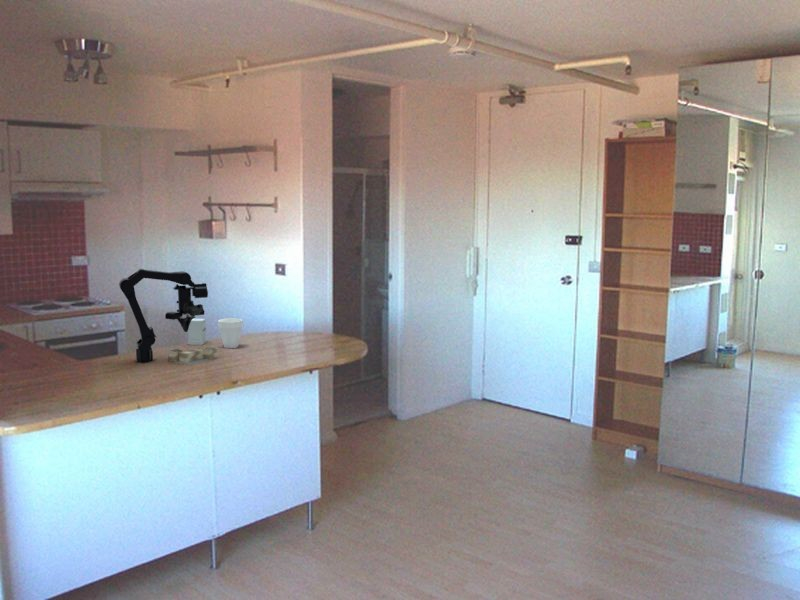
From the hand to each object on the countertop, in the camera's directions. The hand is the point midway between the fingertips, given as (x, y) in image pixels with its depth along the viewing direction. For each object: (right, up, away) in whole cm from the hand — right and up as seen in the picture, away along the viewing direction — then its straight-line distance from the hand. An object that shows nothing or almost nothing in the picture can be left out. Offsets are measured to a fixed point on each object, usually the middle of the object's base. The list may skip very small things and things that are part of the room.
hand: (185, 331), depth 341 cm
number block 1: (-3, -13, -5) cm, 14 cm away
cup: (+15, -9, +28) cm, 33 cm away
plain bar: (+4, -13, -3) cm, 14 cm away
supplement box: (-4, -8, +35) cm, 36 cm away
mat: (+4, -13, -2) cm, 14 cm away
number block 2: (+11, -12, 0) cm, 17 cm away
